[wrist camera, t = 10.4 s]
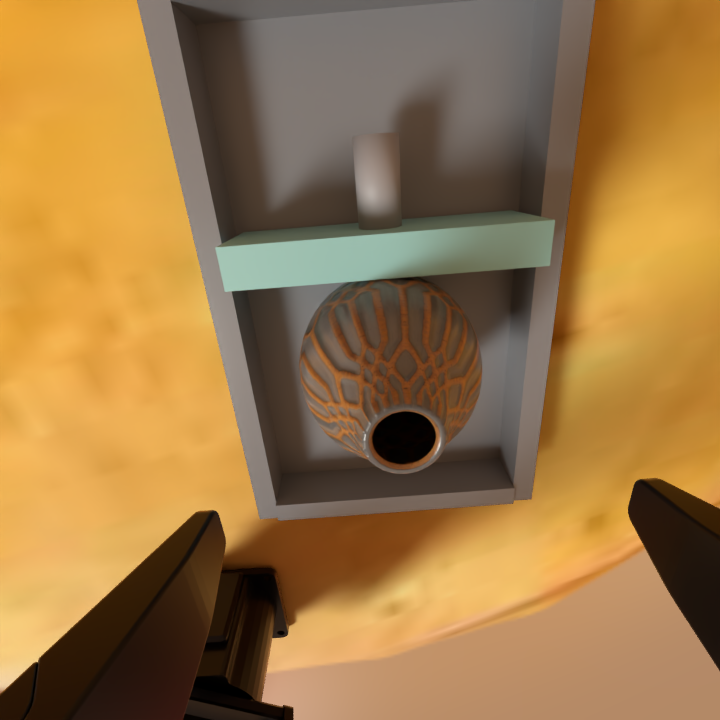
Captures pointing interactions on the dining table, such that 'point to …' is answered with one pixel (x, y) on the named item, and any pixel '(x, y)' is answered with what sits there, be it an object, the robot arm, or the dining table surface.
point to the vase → (391, 370)
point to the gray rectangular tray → (339, 206)
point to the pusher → (384, 237)
